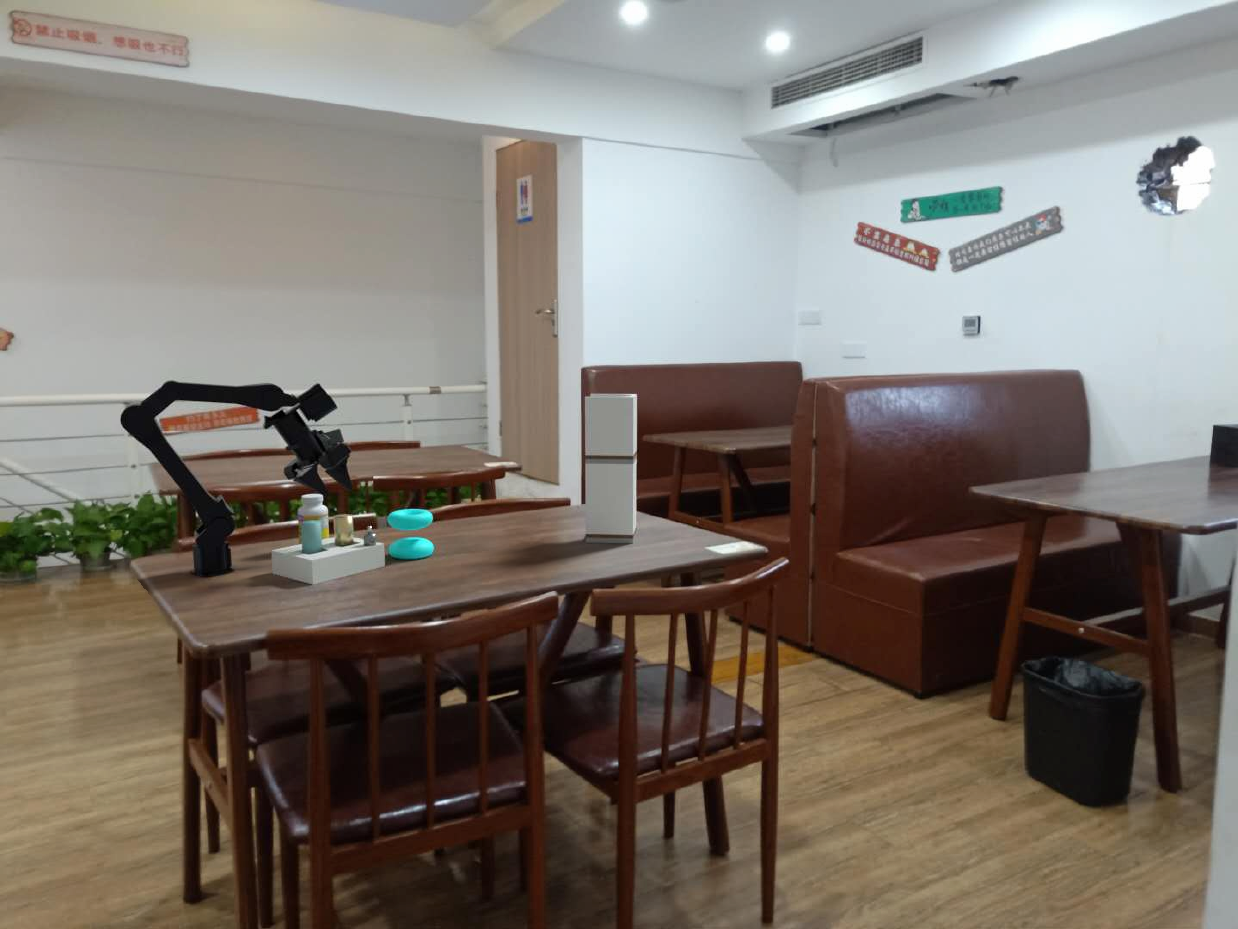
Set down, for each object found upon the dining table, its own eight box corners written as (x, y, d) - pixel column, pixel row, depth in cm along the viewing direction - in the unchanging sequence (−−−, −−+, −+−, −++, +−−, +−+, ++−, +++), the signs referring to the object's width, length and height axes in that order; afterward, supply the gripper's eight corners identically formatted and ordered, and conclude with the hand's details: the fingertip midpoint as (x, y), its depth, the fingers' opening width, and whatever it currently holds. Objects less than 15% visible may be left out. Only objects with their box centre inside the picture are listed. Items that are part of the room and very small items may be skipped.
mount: (313, 584, 182) (311, 560, 182) (272, 573, 191) (271, 550, 190) (384, 566, 197) (384, 543, 196) (344, 556, 205) (343, 535, 204)
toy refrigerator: (636, 533, 228) (636, 394, 223) (633, 543, 218) (633, 397, 213) (591, 532, 229) (590, 393, 224) (585, 542, 219) (584, 396, 214)
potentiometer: (369, 546, 193) (368, 528, 192) (361, 545, 195) (360, 526, 194) (378, 544, 195) (378, 526, 194) (371, 542, 197) (370, 524, 196)
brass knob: (342, 551, 193) (341, 518, 192) (330, 548, 196) (329, 516, 195) (358, 547, 197) (356, 515, 196) (346, 545, 199) (345, 513, 198)
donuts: (378, 515, 201) (401, 506, 211) (380, 559, 203) (402, 549, 212) (419, 517, 199) (440, 509, 208) (420, 562, 200) (441, 551, 210)
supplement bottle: (293, 551, 210) (290, 496, 208) (315, 545, 216) (312, 492, 214) (314, 554, 207) (311, 499, 205) (335, 548, 213) (333, 494, 211)
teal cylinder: (310, 558, 187) (308, 525, 186) (298, 555, 189) (296, 522, 188) (326, 554, 190) (325, 522, 189) (315, 552, 193) (313, 519, 192)
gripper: (346, 406, 195) (387, 465, 200) (300, 422, 207) (340, 478, 212) (310, 434, 187) (354, 494, 193) (264, 450, 199) (306, 506, 205)
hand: (339, 492), depth 201 cm, fingers open, 9 cm apart
